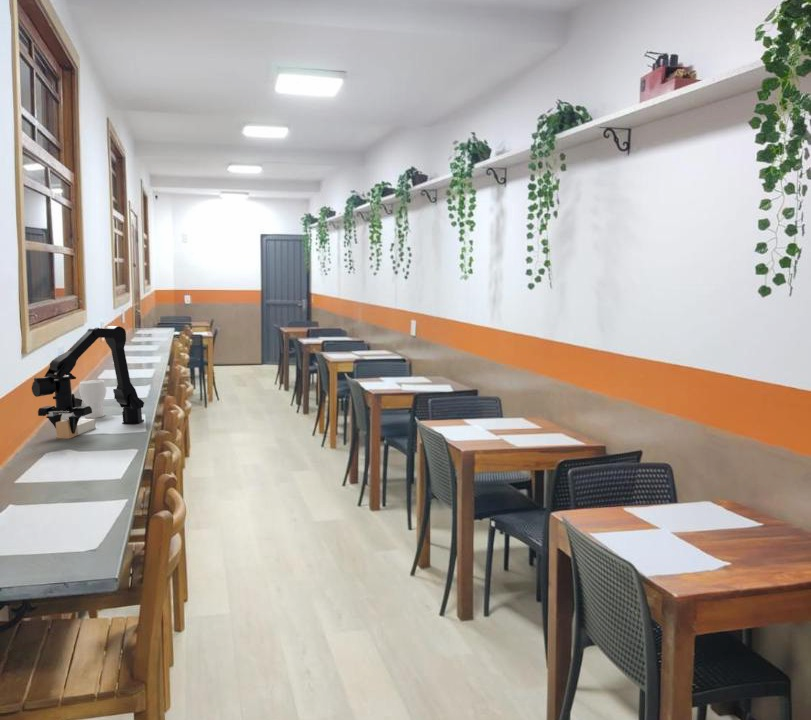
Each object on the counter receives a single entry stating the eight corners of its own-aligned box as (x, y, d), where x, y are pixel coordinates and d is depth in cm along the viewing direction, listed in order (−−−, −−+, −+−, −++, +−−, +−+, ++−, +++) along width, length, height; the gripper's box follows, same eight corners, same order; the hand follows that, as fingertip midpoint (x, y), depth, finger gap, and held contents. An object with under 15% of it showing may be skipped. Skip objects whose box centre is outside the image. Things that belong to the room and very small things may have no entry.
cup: (75, 417, 316) (72, 382, 314) (96, 413, 326) (93, 379, 324) (93, 419, 311) (90, 384, 309) (113, 414, 321) (111, 380, 319)
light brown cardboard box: (77, 435, 283) (75, 419, 282) (69, 438, 278) (67, 422, 277) (65, 435, 283) (63, 419, 282) (57, 438, 278) (55, 422, 278)
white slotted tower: (95, 427, 295) (94, 418, 294) (77, 434, 283) (77, 425, 283) (83, 427, 296) (83, 418, 295) (65, 434, 284) (64, 425, 283)
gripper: (98, 388, 285) (101, 428, 287) (53, 388, 288) (57, 428, 290) (81, 393, 274) (85, 435, 276) (35, 394, 277) (39, 435, 279)
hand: (66, 433), depth 280 cm, fingers closed on light brown cardboard box, 5 cm apart
